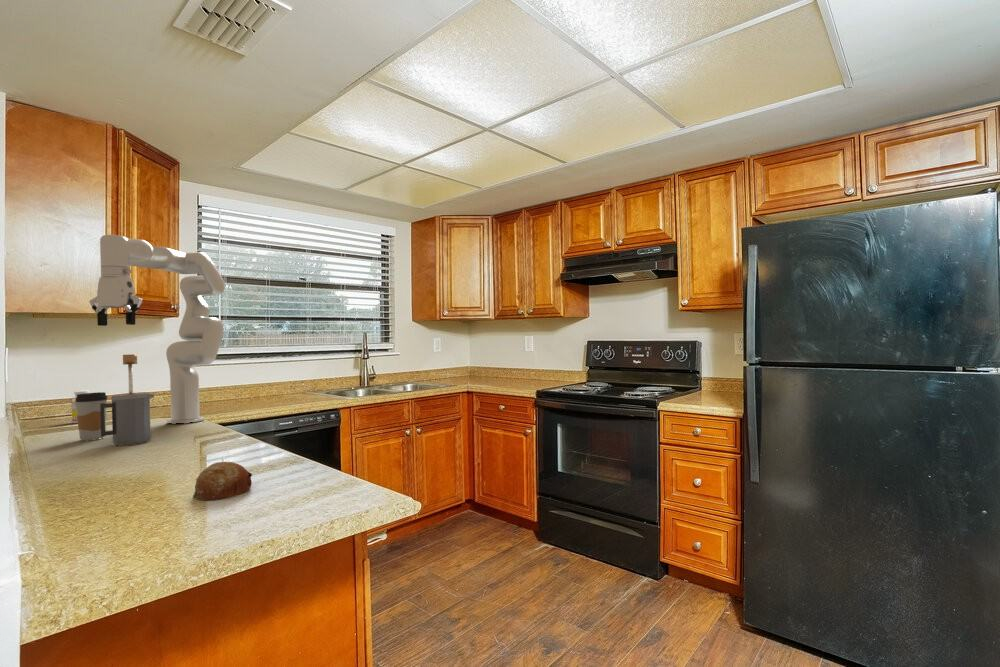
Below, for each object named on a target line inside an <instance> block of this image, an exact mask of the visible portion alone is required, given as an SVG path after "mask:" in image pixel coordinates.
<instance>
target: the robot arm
mask: <svg viewBox="0 0 1000 667" xmlns="http://www.w3.org/2000/svg"><path fill="white" fill-rule="evenodd" d="M99 242H100V243H99V249H100V250H99V252H100V258H99V259H100V277H99V279H98V281H97V282H98V284H97V291H96V296H95V297H93V298H92V299H90V300H89V304H90V306H91V309H92V310H93V311H94V313H95V314H96V316H97V317H96V318H97V320H96V322H97V326H99V327H100V326H101V327H103V326H104V327H105V326H106V327H107V326H108V313H106V312H107V311H108V310H109V309H110V308H111V309H120V308H121V309H123V308H124V309H125V310H126V312H125V325H126V326H127V325H129V326H130V325H131V326H135V325H136V313H137V312H138V310H139V309H140V308H141V305H142V303H143V298H141V297H139V296H137V295H136V288H135V284H134V280H133V278H132V277H131V276H130V274H132V272H133V270H132V269H130V267H138V268H139V267H140V268H146V269H152V270H161V271H166V272H171V273H174V274H178V275H187V276H184V277H182V278H181V279H180V282H179V290H180V292H181V294H182V296H183V299H184V300H185V306H186V307H185V311H184V313H183V314H184V315H183V317H182V320H181V323H180V326H179V330H178V334H179V337H180V338H181V341H175V342H173V343H171V344H169V346H168V347H167V349H166V351H165V352H166V353H165V356H166V359H167V364H168V368H169V378H170V380H169V381H170V384H169V386H170V387H169V388H170V415H171V416H170V417H171V418H169V419H167V420H166V424H167V423H172V424H171V425H177V424H176V423H184V424H191V423H190V422H193V423H198V422H202V421H204V420H205V417H204V416H202V415H201V413H200V412H201V410H200V384H199V383H200V382H199V380H200V378H199V374H198V372H197V370H196V368H195V367H194V366H206V365H211V364H212V363H214V361H215V360H216V359H217V356H218V353H219V349H220V346H221V343H222V339H223V335H224V325H223V322H222V321H221V320H220V319H219V318H218V317H215V316H214V317H213V316H210V306H209V305H208V303H207V301H205V299H204V298H203V297H209V296H212V297H213V296H214V297H215V296H219V295H221V294H223V293H224V291H225V289H226V287H225V286H226V284H225V281H224V278H223V277H222V275H221V273H220V272H219V270H218V268H217V266H216V265H215V263H214V262H213V260H212V259H211V258H210V257H209V255H207V254H206V253H204V252H201V251H200V252H197V251H196V252H195V251H194V252H183V251H179V250H175V249H172V248H169V247H165V246H155V245H154V246H153V245H151V243H149V242H148V241H146V240H145V239H141V238H140V239H139V238H129V237H125V236H122V235H117V234H105V235H102V236H101V237H100V238H99ZM196 274H197V275H196ZM199 274H201V275H199ZM183 340H184V341H183Z"/></svg>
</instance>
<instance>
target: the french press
mask: <svg viewBox="0 0 1000 667" xmlns="http://www.w3.org/2000/svg"><path fill="white" fill-rule="evenodd" d="M153 398H155V393H150V391H148V392H145V391H144V392H143V391H141V392H140V391H138V392H133V394H129V392H128V393H127V392H126V393H118V394H116V393H115V394H112V395H111V402H107V403H100V415H101V437H104V438H105V437H107V436H112V443H113V444H112V445H113V446H114V445H128V446H134V444H136V445H142V444H146V443H145V442H147V443H149V442H150V441H151V435H152V434H151V407H150V406H151V404H150V403H151V401H150V399H153ZM105 408H106V410H105ZM108 408H111V419H112V420H111V424H112V425H111V426H112V429H111V430H107V409H108ZM148 441H149V442H148ZM141 443H142V444H141Z"/></svg>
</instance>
